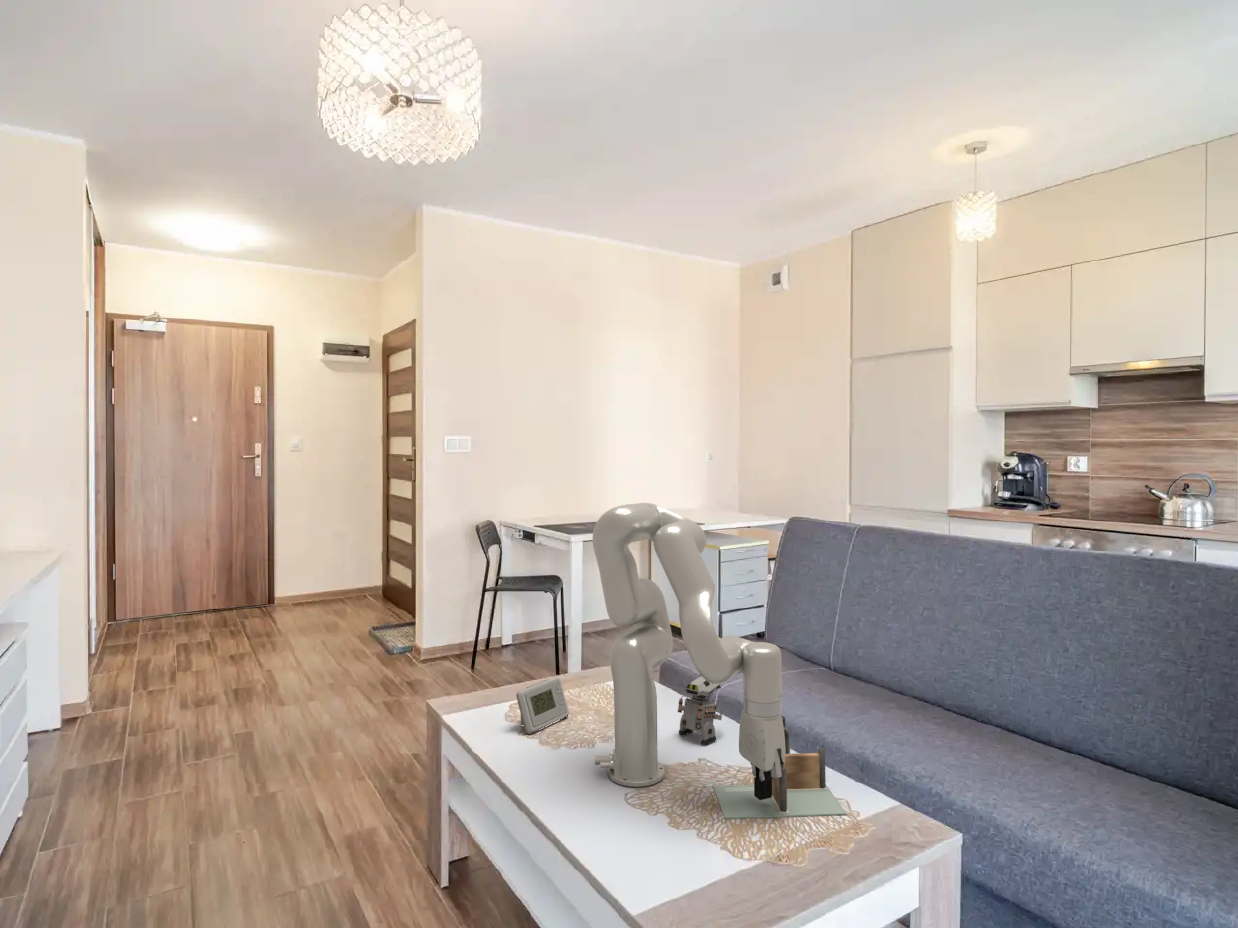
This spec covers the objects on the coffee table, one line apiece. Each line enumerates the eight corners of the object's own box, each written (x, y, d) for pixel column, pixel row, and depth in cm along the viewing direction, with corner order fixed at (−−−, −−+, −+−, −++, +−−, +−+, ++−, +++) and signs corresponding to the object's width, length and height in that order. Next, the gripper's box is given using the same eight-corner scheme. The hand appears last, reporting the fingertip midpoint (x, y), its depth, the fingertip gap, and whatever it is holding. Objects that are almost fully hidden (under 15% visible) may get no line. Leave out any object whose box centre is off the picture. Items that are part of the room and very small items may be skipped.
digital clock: (526, 737, 175) (526, 695, 175) (507, 727, 182) (507, 686, 182) (577, 720, 186) (576, 681, 186) (557, 711, 193) (556, 673, 193)
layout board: (724, 818, 134) (724, 817, 134) (713, 787, 147) (713, 785, 147) (846, 814, 135) (846, 813, 135) (824, 783, 148) (824, 782, 148)
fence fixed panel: (777, 789, 145) (777, 751, 145) (775, 786, 146) (775, 749, 146) (826, 788, 145) (826, 750, 145) (824, 785, 147) (823, 747, 147)
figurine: (731, 735, 174) (731, 676, 174) (700, 748, 167) (699, 686, 167) (705, 725, 181) (704, 668, 181) (673, 737, 174) (673, 677, 174)
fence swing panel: (787, 811, 136) (787, 770, 136) (780, 811, 136) (780, 770, 136) (773, 785, 146) (773, 748, 146) (767, 786, 146) (766, 748, 146)
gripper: (726, 697, 144) (726, 784, 144) (769, 721, 130) (770, 818, 130) (756, 691, 147) (756, 777, 147) (801, 715, 133) (802, 810, 133)
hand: (763, 796), depth 139 cm, fingers closed
